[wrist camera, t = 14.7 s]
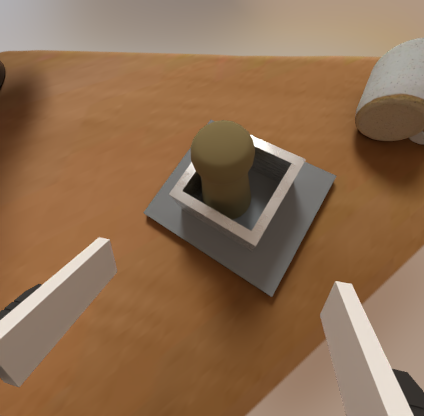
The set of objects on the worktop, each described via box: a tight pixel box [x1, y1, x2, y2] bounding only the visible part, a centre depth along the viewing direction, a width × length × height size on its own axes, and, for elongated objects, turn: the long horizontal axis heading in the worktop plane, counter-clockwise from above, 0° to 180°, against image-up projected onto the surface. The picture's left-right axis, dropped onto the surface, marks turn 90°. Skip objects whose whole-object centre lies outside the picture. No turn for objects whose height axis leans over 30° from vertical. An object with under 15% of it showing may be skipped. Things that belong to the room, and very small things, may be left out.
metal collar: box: [169, 135, 306, 252], centre depth 23 cm, size 10×10×5 cm
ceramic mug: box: [355, 38, 424, 144], centre depth 23 cm, size 11×8×8 cm
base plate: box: [144, 120, 336, 297], centre depth 26 cm, size 18×16×1 cm
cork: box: [190, 120, 255, 220], centre depth 20 cm, size 6×6×11 cm
